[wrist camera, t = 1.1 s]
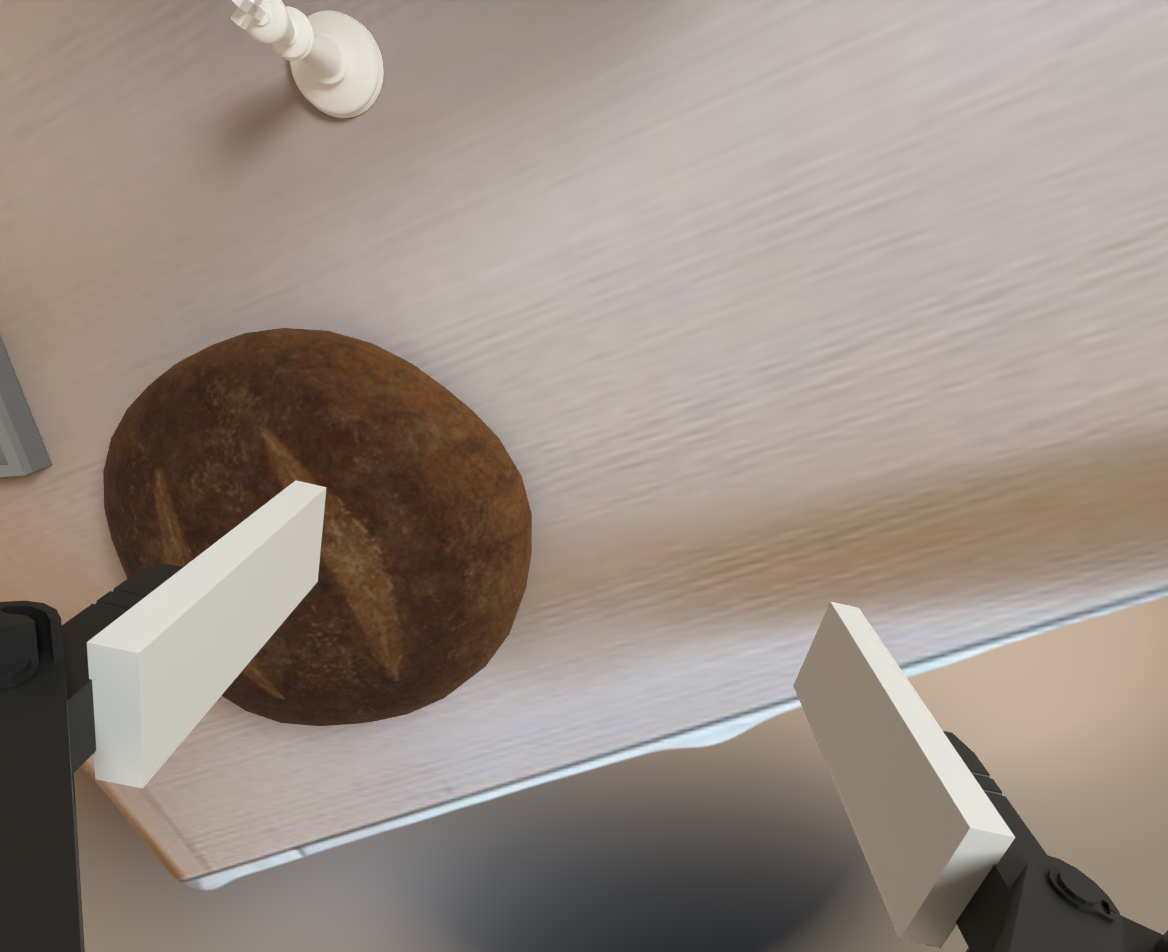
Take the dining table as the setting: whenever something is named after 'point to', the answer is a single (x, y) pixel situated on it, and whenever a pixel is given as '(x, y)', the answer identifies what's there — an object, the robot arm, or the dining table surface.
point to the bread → (333, 515)
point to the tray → (17, 427)
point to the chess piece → (319, 53)
